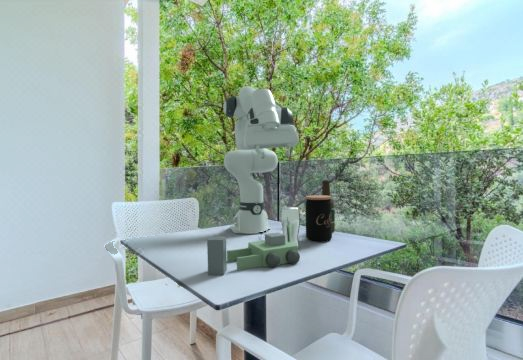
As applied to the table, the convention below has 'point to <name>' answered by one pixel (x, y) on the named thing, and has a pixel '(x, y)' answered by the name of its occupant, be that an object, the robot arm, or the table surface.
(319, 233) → the coffee jar
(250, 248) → the green toy forklift
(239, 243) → the table surface
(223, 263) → the tall gray column
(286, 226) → the beer glass
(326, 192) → the beer bottle
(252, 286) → the table surface
